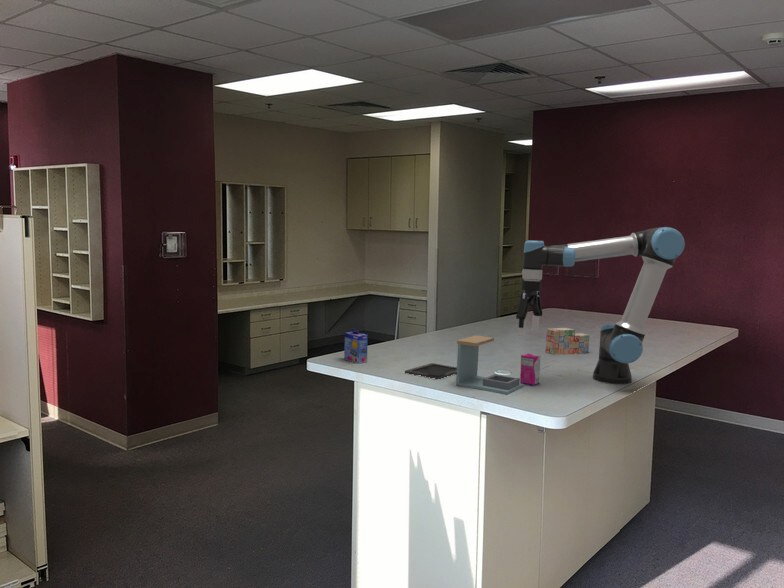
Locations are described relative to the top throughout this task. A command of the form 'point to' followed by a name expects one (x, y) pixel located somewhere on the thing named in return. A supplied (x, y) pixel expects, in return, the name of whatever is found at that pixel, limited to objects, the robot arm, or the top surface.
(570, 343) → the stack of blocks
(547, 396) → the top surface
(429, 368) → the picture frame
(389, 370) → the top surface
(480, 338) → the socket stand
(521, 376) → the supplement box
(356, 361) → the ink cartridge box
